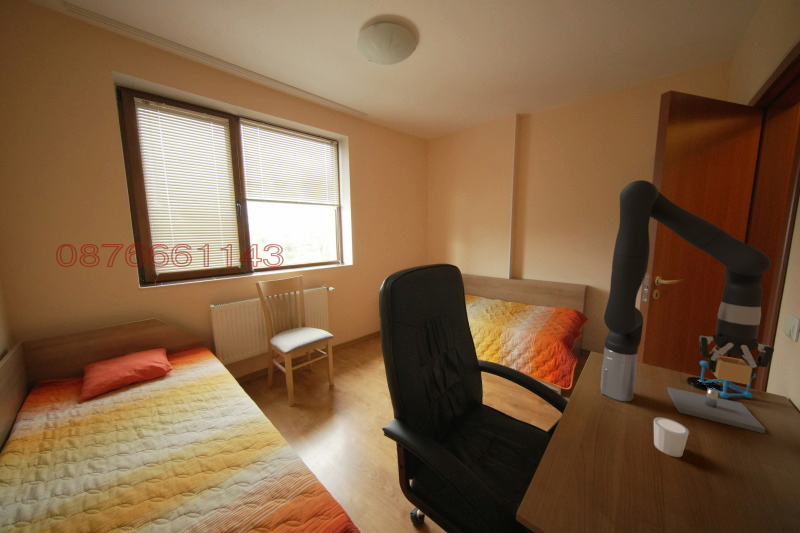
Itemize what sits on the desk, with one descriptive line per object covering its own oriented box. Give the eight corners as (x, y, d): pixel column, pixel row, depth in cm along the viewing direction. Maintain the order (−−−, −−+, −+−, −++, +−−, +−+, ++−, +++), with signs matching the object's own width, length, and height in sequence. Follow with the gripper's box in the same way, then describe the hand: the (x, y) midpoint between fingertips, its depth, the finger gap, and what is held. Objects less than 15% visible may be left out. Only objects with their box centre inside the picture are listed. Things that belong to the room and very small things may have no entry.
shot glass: (676, 442, 77) (679, 419, 76) (692, 461, 71) (696, 437, 70) (646, 436, 79) (648, 414, 78) (659, 455, 73) (662, 431, 72)
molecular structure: (694, 383, 105) (698, 359, 104) (722, 384, 105) (725, 359, 104) (724, 399, 95) (728, 373, 94) (754, 400, 95) (758, 373, 94)
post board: (678, 412, 89) (679, 408, 89) (667, 390, 101) (667, 387, 101) (764, 433, 80) (765, 428, 79) (740, 407, 91) (741, 403, 91)
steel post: (706, 406, 90) (709, 390, 89) (704, 402, 92) (706, 387, 91) (717, 408, 88) (719, 393, 88) (714, 404, 90) (716, 389, 90)
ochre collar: (717, 378, 79) (719, 362, 78) (709, 369, 84) (712, 354, 83) (749, 384, 76) (752, 368, 75) (739, 375, 81) (742, 359, 80)
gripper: (705, 318, 78) (697, 373, 81) (786, 328, 70) (775, 388, 73) (697, 311, 84) (690, 362, 87) (770, 320, 76) (760, 375, 79)
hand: (729, 374), depth 80 cm, fingers closed on ochre collar, 6 cm apart
